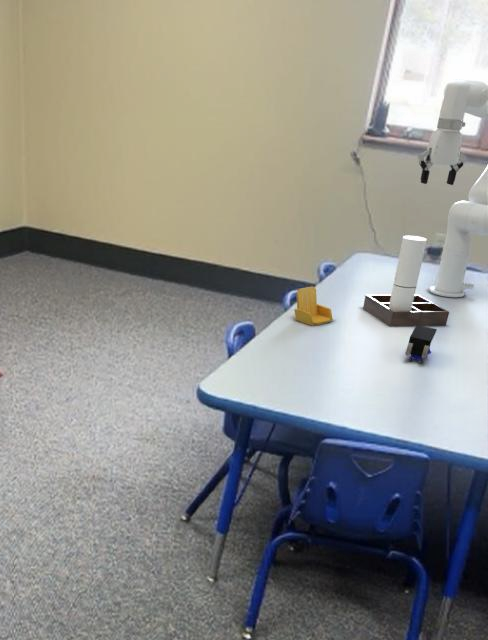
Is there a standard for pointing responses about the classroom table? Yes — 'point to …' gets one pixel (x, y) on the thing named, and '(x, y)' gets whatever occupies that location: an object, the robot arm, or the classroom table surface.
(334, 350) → the classroom table surface
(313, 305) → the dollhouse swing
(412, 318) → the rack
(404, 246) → the cylindrical container
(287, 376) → the classroom table surface
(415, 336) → the figurine character
